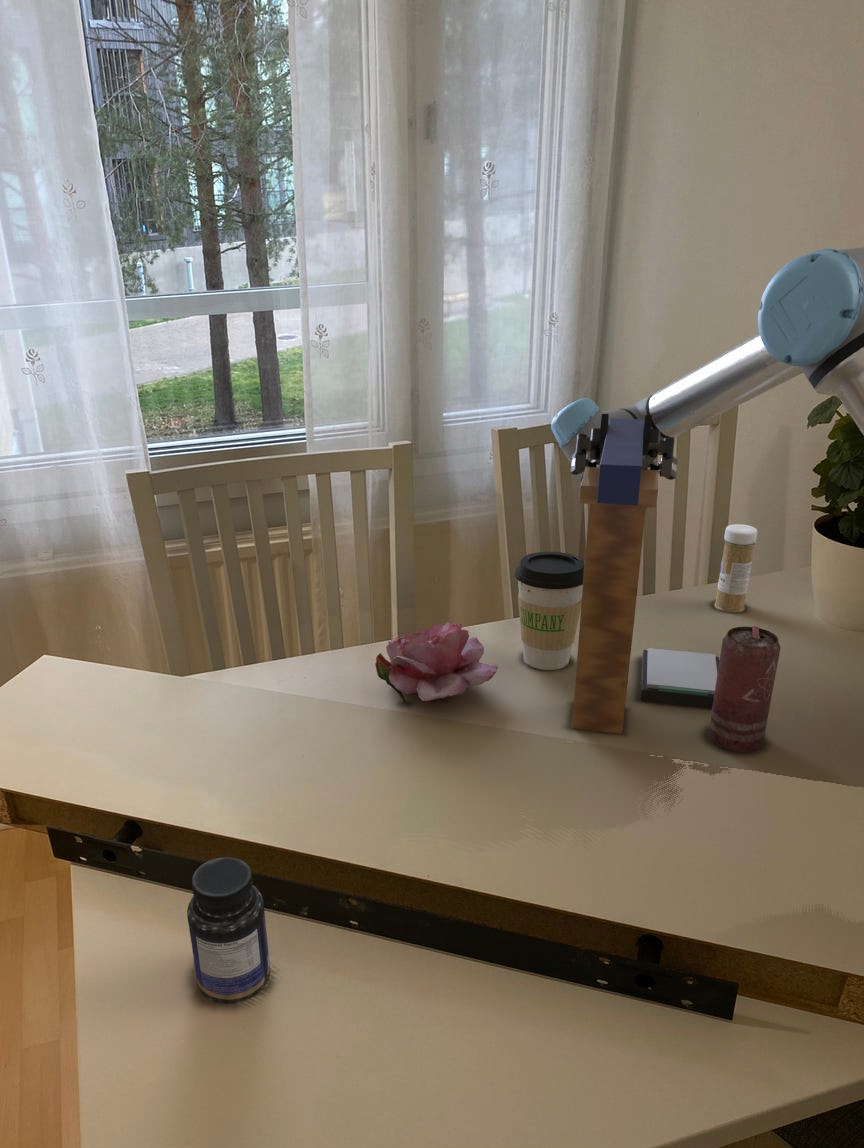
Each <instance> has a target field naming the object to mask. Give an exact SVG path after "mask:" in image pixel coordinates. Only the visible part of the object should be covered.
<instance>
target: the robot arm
mask: <svg viewBox="0 0 864 1148" xmlns="http://www.w3.org/2000/svg"><path fill="white" fill-rule="evenodd" d="M757 330H758V332H757V333H755V334H754V335H752V336H751V337H748V338H747V339H744V341H742V342H740V343H739V344H737V345H735V346H733V347H731V348H730V349H728V350H726V351H724V352H723V353H721V354H719V355H718V356H716V357H714V358H713V359H711V360H709V361H707V362H705V363H704V364H702V365H700V366H698V367H697V368H694V369H693V370H691V371H690V372H688V373H686V374H685V375H683V376H681V377H679V378H678V379H676V380H674V381H673V382H671V383H669V384H667V385H666V386H664V387H662V388H660V389H659V390H657V391H655V392H653V393H652V394H650V395H648V396H646V397H645V398H643V399H641V400H640V401H638V402H636V403H634V404H631V405H629V406H624V407H621V408H614V409H610V410H606V411H605V410H604V411H601V407H600V406H598V405H597V403H596V402H595V401H594V400H592V399H591V398H589V397H583V398H580V399H577V400H575V401H573V402H571V403H569V404H567V405H566V406H565V407H563V408H562V409H561V410H560V411H558V412H557V413H556V414H555V416H554V417H553V419H552V420H551V423H550V429H551V432H552V434H553V436H554V438H555V440H556V441H557V444H558V445H559V446H558V447H559V449H561V451H562V452H563V455H564V456H565V457H566V459H567V460H568V462H569V464H570V474H571V475H574V476H577V477H578V479H579V480H580V482H581V483H582V479H583V476H584V472H585V468H586V467H597V468H600V462H601V458H602V453H603V448H604V443H605V439H606V434H607V430H608V425H609V420H610V418H615V419H644V432H643V454H642V470H658V475H659V477H660V478H665V479H666V480H669V481H673V480H676V478H677V469H678V468H677V466H678V459H677V458H676V457H675V456H674V451H675V440H676V438H677V437H679V436H681V435H682V434H685V433H687V432H689V431H690V430H692V429H694V428H697V427H698V426H700V425H702V424H705V423H706V422H709V421H711V420H712V419H714V418H716V417H718V416H720V415H722V414H724V413H726V412H728V411H731V410H732V409H735V408H736V407H738V406H740V405H742V404H744V403H747V402H748V401H750V400H752V399H754V398H756V397H758V396H760V395H762V394H764V393H766V392H768V391H770V390H772V389H774V388H776V387H777V386H779V385H782V384H784V383H786V382H788V381H789V380H792V379H793V378H796V377H798V376H800V375H802V374H803V375H804V376H805V378H806V379H807V381H808V382H809V384H810V385H811V386H812V388H813V389H814V391H815V392H816V394H821V395H828V396H834V397H836V398H838V399H839V401H840V402H841V404H842V405H843V407H844V409H845V410H846V411H847V413H848V414H849V416H850V418H851V419H852V420H853V422H854V423H855V425H856V426H857V428H858V429H859V431H860V432H861V434H862V435H863V436H864V247H855V248H854V247H853V248H845V249H836V248H822V249H818V250H815V251H813V252H811V253H806V254H803V255H800V256H797V257H796V258H793V259H792V260H790V261H789V262H787V263H786V264H785V265H783V266H782V267H781V268H780V269H779V270H778V271H777V272H776V273H775V274H774V275H773V277H772V278H771V279H770V280H769V282H768V284H767V285H766V287H765V289H764V291H763V293H762V296H761V299H760V304H759V310H758V313H757ZM658 456H662V457H661V458H660V462H658V463H657V462H655V460H656V459H657V458H658ZM647 508H648V507H646V509H647Z"/></svg>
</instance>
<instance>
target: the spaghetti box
mask: <svg viewBox="0 0 864 1148" xmlns="http://www.w3.org/2000/svg"><path fill="white" fill-rule="evenodd" d="M643 432H644V419H615V418H610V420H609V425H608V430H607V434H606V439H605V443H604V448H603V453H602V458H601V462H600V471H599V484H598V497H597V503H601V504H621V505H638V501H639V491H640V480H641V470H642V454H643Z"/></svg>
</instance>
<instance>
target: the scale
mask: <svg viewBox="0 0 864 1148" xmlns="http://www.w3.org/2000/svg"><path fill="white" fill-rule="evenodd" d="M719 660H720V656H716V653H704V652H695V651H694V652H693V651H684V650H672V649H663V648H651V647H648V648H647V649H643V650H642V655H641V675H640V676H641V681H640V701H642V702H643V701H644V702H654V703H663V704H673V705H680V706H681V705H683V706H691V707H700V708H711V709H712V706H713V700H714V693H715V687H716V680H717V674H718V667H719Z"/></svg>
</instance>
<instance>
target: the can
mask: <svg viewBox="0 0 864 1148" xmlns="http://www.w3.org/2000/svg"><path fill="white" fill-rule="evenodd" d="M780 653H781V644H780V642H779V638H778V636H777V635H776V634H775V633H774V632H771V631H770V630H768V629H765V628H761V627H758V626H756V625H755V626H737V627H732V628H730V629H728V631H726V634H725V636H723V638H722V642H721V649H720V655H719V667H718V674H717V680H716V687H715V693H714V700H713V706H712V708H711V714H710V720H709V727H708V739H709V740H710V741H711V742H712V743H713V744H714V745H715V746H716V747H719V748H721V749H723V750H726V751H730V752H734V753H752V752H755V751H757V750H759V749H761V748H762V746H763V744H764V741H765V735H766V729H767V726H768V725H767V723H768V719H769V715H770V714H769V713H770V708H771V702H772V696H773V691H774V687H775V681H776V675H777V669H778V663H779V658H780Z"/></svg>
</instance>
